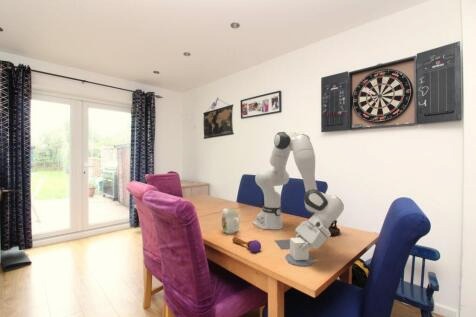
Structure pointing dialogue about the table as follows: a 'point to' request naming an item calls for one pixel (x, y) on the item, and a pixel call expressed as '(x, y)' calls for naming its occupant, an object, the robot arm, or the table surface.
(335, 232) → the wooden spool stand
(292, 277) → the table surface
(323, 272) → the table surface
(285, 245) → the mat
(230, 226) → the pitcher
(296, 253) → the cover
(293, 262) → the pot lid
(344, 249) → the table surface
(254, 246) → the kendama
